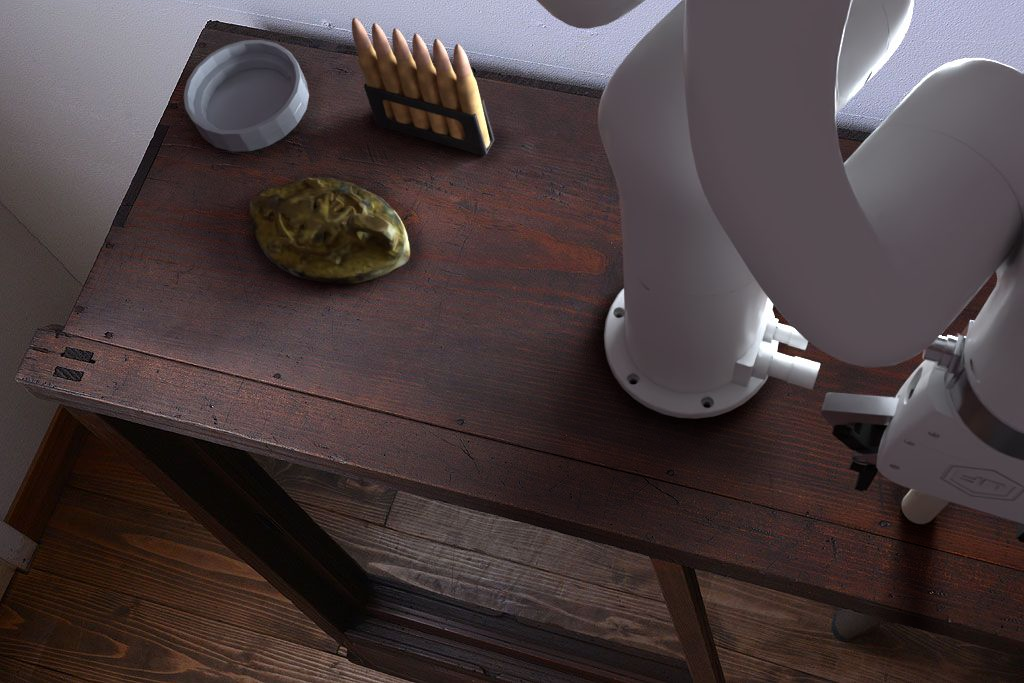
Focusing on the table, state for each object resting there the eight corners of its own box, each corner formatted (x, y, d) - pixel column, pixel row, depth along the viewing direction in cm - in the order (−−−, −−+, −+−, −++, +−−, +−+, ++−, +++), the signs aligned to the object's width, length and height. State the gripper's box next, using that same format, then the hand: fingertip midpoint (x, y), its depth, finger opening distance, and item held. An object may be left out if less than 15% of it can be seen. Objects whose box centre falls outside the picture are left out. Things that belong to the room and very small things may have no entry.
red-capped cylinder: (939, 498, 65) (976, 458, 58) (932, 529, 64) (969, 494, 57) (904, 486, 66) (936, 446, 59) (896, 518, 65) (928, 481, 58)
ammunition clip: (495, 139, 83) (473, 38, 72) (486, 156, 82) (463, 56, 71) (385, 108, 85) (348, 6, 75) (375, 124, 85) (337, 24, 74)
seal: (232, 262, 81) (392, 308, 77) (207, 238, 77) (375, 285, 73) (277, 167, 84) (434, 207, 80) (255, 138, 80) (419, 178, 76)
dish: (329, 77, 88) (320, 53, 85) (276, 167, 84) (264, 146, 81) (232, 52, 91) (220, 29, 88) (176, 139, 87) (162, 117, 84)
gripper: (832, 396, 47) (789, 503, 62) (1236, 515, 42) (1083, 600, 57) (868, 268, 50) (819, 401, 65) (1252, 366, 45) (1102, 484, 60)
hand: (943, 494), depth 61 cm, fingers open, 9 cm apart
